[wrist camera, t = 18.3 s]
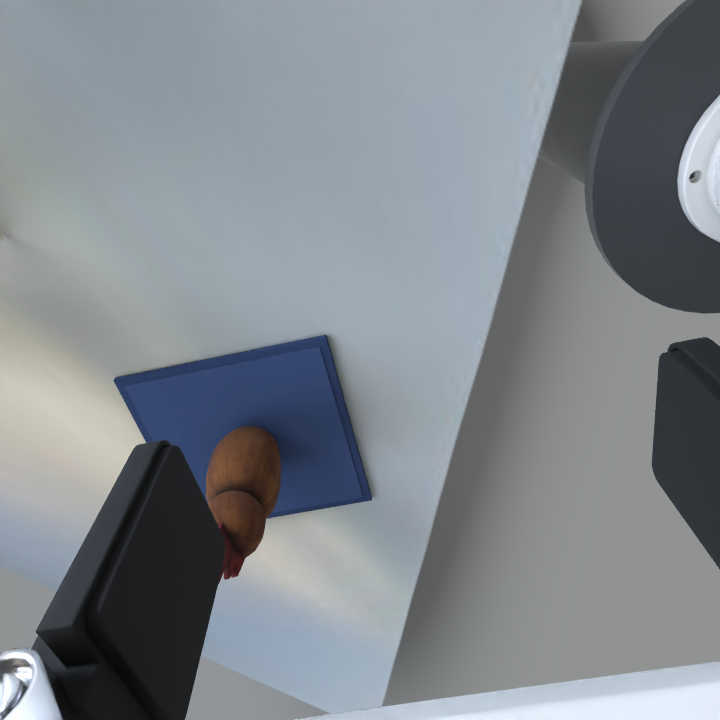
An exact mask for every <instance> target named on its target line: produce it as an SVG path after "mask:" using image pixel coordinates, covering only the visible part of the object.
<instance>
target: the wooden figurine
mask: <svg viewBox="0 0 720 720" xmlns="http://www.w3.org/2000/svg"><path fill="white" fill-rule="evenodd" d="M280 484H281V460H280V453H279V448H278V445H277V442H276V441H275V439H274V437H273V436H272V434H270V433H269V432H268V431H266V430H265V429H262V428H258V427H255V426H244V427H241V428H238V429H235V430H233V431H231V432H230V433H229V434H228V435H227V436H225V437H224V438H223V439H222V440H221V441H220V442H219V443H218V444H217V446H216V447H215V449H214V450H213V452H212V455H211V458H210V462H209V467H208V471H207V476H206V498H207V501H208V506H209V508H210V510H211V512H212V514H213V516H214V518H215V520H216V522H217V524H218V526H219V528H220V530H221V532H222V534H223V537H224V540H225V547H226V551H225V557H224V562H223V566H222V570H221V574H220V578H219V582H220V580H221V577H222V575H223V572H224V579H225V580H226V579H229V578H230V576H231V577H236V576H238V574H239V572H240V570H241V567H242V565H243V562H244V560H245V558H246V557H247V556H249V555H250V554H252V553H253V552H254V551H255V550H256V548H257V547H258V545H259V544H260V542H261V540H262V538H263V534H264V529H265V522H266V518H267V517H268V516H269V515H270V514H271V513H272V511H273V510H274V508H275V505H276V503H277V499H278V495H279V491H280ZM219 582H218V584H219Z"/></svg>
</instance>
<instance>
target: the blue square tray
mask: <svg viewBox="0 0 720 720" xmlns="http://www.w3.org/2000/svg"><path fill="white" fill-rule="evenodd" d="M114 382H115V384H116V386H117V388H118V390H119V392H120V393H121V395H122V397H123V399H124V401H125V403H126V405H127V407H128V409H129V411H130V412H131V414H132V416H133V418H134V420H135V422H136V424H137V426H138V428H139V430H140V431H141V433H142V435H143V437H144V439H145V441H146V443H150V442H156V441H161V440H167V441H168V442H170V443H171V445H172V446H173V445H177V446H178V447H180V449H181V451H182V453H183V455H184V457H185V459H186V461H187V463H188V465H189V467H190V469H191V471H192V473H193V475H194V477H195V479H196V481H197V483H198V485H199V487H200V489H201V491H202V493H203V495H204V498H205V500H206V502H207V504H208V501H207V498H206V476H207V471H208V467H209V462H210V458H211V455H212V452H213V450H214V449H215V447H216V446H217V444H218V443H219V442H220V441H221V440H222V439H223V438H224V437H225V436H227V435H228V434H229V433H230V432H231V431H233V430H235V429H238V428H241V427H244V426H255V427H258V428H262V429H265V430H266V431H268V432H269V433H270V434H272V436H273V437H274V439H275V441H276V442H277V445H278V448H279V453H280V460H281V484H280V491H279V495H278V499H277V503H276V505H275V508H274V510H273V511H272V513H271V514H270V515H269V516H268V517H267V518H272V517H278V516H284V515H289V514H295V513H301V512H307V511H312V510H318V509H324V508H330V507H336V506H341V505H347V504H353V503H359V502H364V501H370V500H372V497H371V493H370V490H369V486H368V483H367V479H366V476H365V472H364V468H363V465H362V461H361V458H360V454H359V451H358V447H357V443H356V440H355V436H354V433H353V429H352V426H351V422H350V418H349V415H348V411H347V408H346V404H345V401H344V397H343V393H342V390H341V386H340V383H339V379H338V375H337V372H336V368H335V365H334V361H333V358H332V354H331V350H330V347H329V343H328V340H327V336H326V335H324V336H319V337H315V338H310V339H305V340H300V341H295V342H290V343H285V344H280V345H275V346H270V347H265V348H260V349H255V350H250V351H246V352H241V353H236V354H231V355H226V356H221V357H216V358H211V359H206V360H201V361H196V362H191V363H186V364H181V365H176V366H172V367H167V368H162V369H157V370H152V371H147V372H142V373H137V374H132V375H127V376H122V377H117V378H115V379H114Z"/></svg>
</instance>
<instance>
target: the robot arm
mask: <svg viewBox="0 0 720 720" xmlns="http://www.w3.org/2000/svg"><path fill="white" fill-rule="evenodd" d="M691 174H692V175H691ZM690 175H691V176H690ZM677 183H678V197H679V200H680V203H681V206H682V210H683V212H684V213H685V215H686V217H687V218H688V220H689V222H690V223H691V224H692V225H693V226H694V227H695V228H696V229H697V230H698V231H700V232H701V233H703V234H705V235H706V236H708V237H710V238H712V239H714V240H716V241H718V242H720V95H719V96H718V97H717V98H716V100H715V101H714V102H713V103H712V104H711V105H710V106H709V107H708V108H707V110H706V111H705V112H704V113H703V115H702V116H701V118H700V119H699V121H698V122H697V124H696V125H695V127H694V128H693V130H692V132H691V134H690V136H689V139H688V141H687V143H686V145H685V147H684V150H683V154H682V157H681V160H680V164H679V171H678V179H677ZM652 468H653V472H654V475H655V477H656V480H657V481H658V483H659V484H660V486H661V487H662V489H663V490H664V491H665V493H666V494H667V496H668V497H669V499H670V500H671V501H672V503H673V504H674V505H675V507H676V508H677V510H678V511H679V513H680V514H681V515H682V517H683V518H684V519H685V521H686V522H687V524H688V525H689V527H690V528H691V529H692V531H693V532H694V534H695V535H696V536H697V538H698V539H699V541H700V542H701V543H702V545H703V546H704V548H705V549H706V550H707V552H708V553H709V555H710V556H711V558H712V559H713V560H714V562H715V563H716V565H717V566H718V567H719V569H720V346H718V345H717V344H716V343H715V342H713V341H712V340H710V339H709V338H705V337H704V338H698V339H692V340H687V341H682V342H677V343H673V344H671V345H670V346H669V348H668V352H666V353H662V354H661V356H660V359H659V367H658V382H657V396H656V410H655V426H654V441H653V454H652ZM225 551H226V547H225V540H224V537H223V534H222V532H221V530H220V528H219V526H218V524H217V522H216V520H215V518H214V516H213V514H212V512H211V510H210V508H209V506H208V504H207V502H206V500H205V498H204V495H203V493H202V491H201V489H200V487H199V485H198V483H197V481H196V479H195V477H194V475H193V473H192V471H191V469H190V467H189V465H188V463H187V461H186V459H185V457H184V455H183V453H182V451H181V449H180V447H178V446H177V445H173V446H172V445H171V443H170V442H168V441H167V440H161V441H156V442H150V443H145V444H140V445H137V446H135V448H134V449H133V451H132V452H131V454H130V456H129V458H128V460H127V462H126V464H125V466H124V467H123V469H122V471H121V473H120V475H119V477H118V479H117V481H116V482H115V484H114V486H113V488H112V490H111V492H110V494H109V495H108V497H107V499H106V501H105V503H104V505H103V507H102V509H101V510H100V512H99V514H98V516H97V518H96V520H95V522H94V523H93V525H92V527H91V529H90V531H89V533H88V535H87V537H86V538H85V540H84V542H83V544H82V546H81V548H80V550H79V551H78V553H77V555H76V557H75V559H74V561H73V563H72V565H71V566H70V568H69V570H68V572H67V574H66V576H65V578H64V579H63V581H62V583H61V585H60V587H59V589H58V591H57V593H56V594H55V596H54V598H53V600H52V602H51V604H50V606H49V607H48V609H47V611H46V613H45V615H44V617H43V619H42V621H41V622H40V624H39V626H38V628H37V630H36V633H37V634H38V637H37V639H36V641H35V643H34V645H33V647H32V649H29V648H14V649H11V650H8V651H5V652H2V653H0V720H185V717H186V713H187V710H188V706H189V701H190V697H191V693H192V689H193V685H194V681H195V677H196V672H197V668H198V664H199V660H200V656H201V652H202V648H203V644H204V640H205V636H206V632H207V627H208V623H209V619H210V615H211V611H212V607H213V603H214V599H215V595H216V590H217V586H218V582H219V578H220V574H221V570H222V566H223V562H224V557H225ZM293 720H720V661H718V662H710V663H702V664H695V665H687V666H680V667H672V668H665V669H657V670H650V671H642V672H634V673H627V674H619V675H612V676H604V677H597V678H589V679H581V680H574V681H567V682H559V683H551V684H544V685H537V686H530V687H522V688H515V689H508V690H501V691H494V692H486V693H478V694H471V695H465V696H457V697H450V698H442V699H435V700H428V701H421V702H414V703H406V704H399V705H392V706H384V707H377V708H370V709H363V710H356V711H349V712H342V713H335V714H328V715H321V716H314V717H307V718H300V719H293Z"/></svg>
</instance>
